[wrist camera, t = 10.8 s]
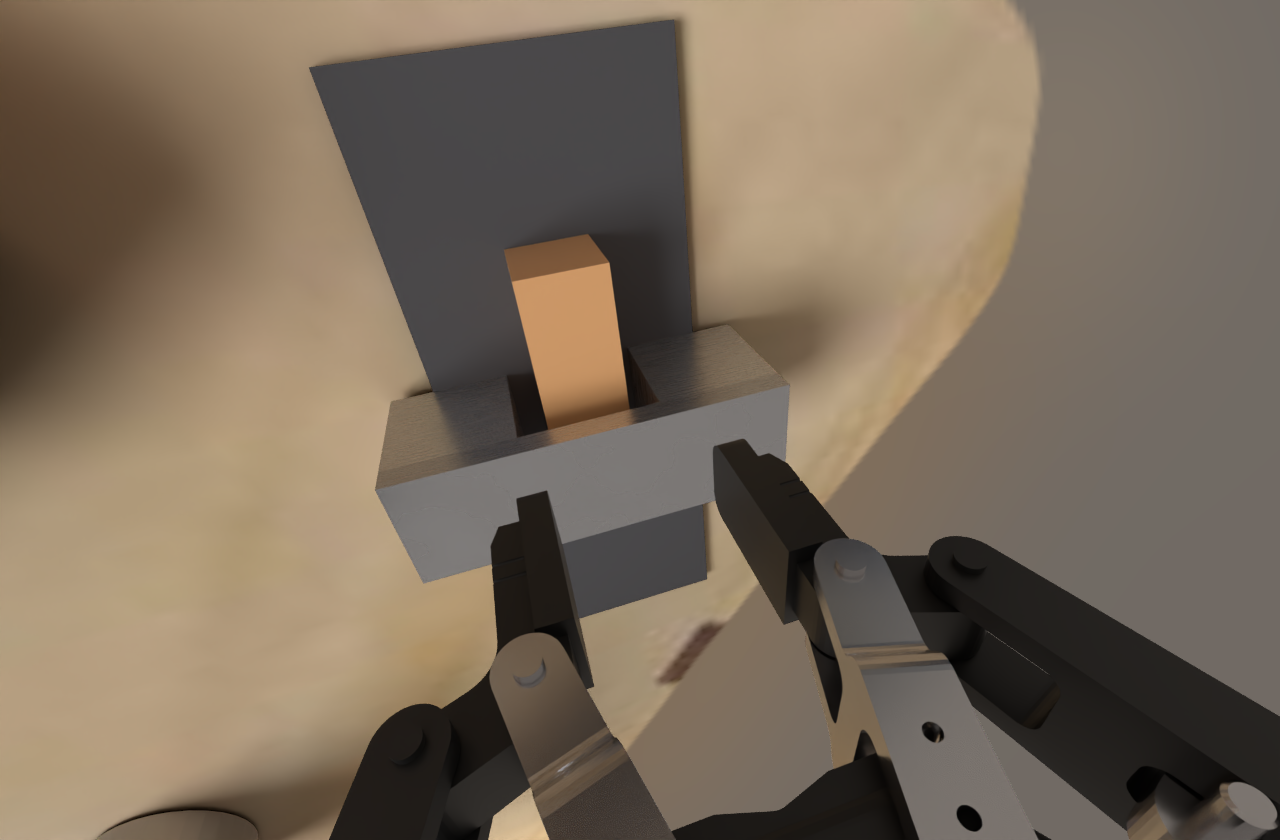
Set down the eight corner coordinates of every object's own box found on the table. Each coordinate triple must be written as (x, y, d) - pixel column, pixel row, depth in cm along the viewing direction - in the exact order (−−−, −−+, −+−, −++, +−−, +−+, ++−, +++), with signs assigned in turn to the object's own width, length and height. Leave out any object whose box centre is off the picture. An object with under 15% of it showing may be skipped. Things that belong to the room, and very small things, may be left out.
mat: (704, 573, 37) (706, 579, 36) (525, 628, 35) (526, 634, 34) (669, 20, 20) (674, 19, 19) (312, 67, 18) (308, 67, 17)
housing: (729, 410, 29) (784, 480, 24) (429, 487, 27) (423, 583, 22) (728, 324, 26) (789, 384, 21) (391, 401, 24) (374, 490, 19)
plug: (626, 484, 30) (646, 532, 27) (565, 500, 29) (578, 551, 26) (587, 233, 22) (609, 262, 19) (503, 249, 22) (511, 281, 19)
